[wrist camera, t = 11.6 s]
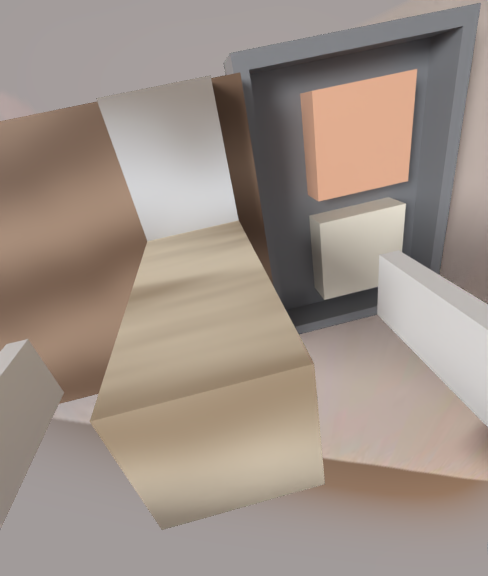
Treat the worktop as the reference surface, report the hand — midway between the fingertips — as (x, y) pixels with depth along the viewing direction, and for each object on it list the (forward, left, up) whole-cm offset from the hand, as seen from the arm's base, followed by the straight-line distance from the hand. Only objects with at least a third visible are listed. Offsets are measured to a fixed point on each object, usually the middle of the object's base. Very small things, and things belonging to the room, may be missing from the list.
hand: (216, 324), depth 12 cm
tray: (0, -10, -12) cm, 15 cm away
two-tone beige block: (0, 0, -7) cm, 7 cm away
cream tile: (-3, -11, -9) cm, 14 cm away
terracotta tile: (+4, -11, -9) cm, 15 cm away
